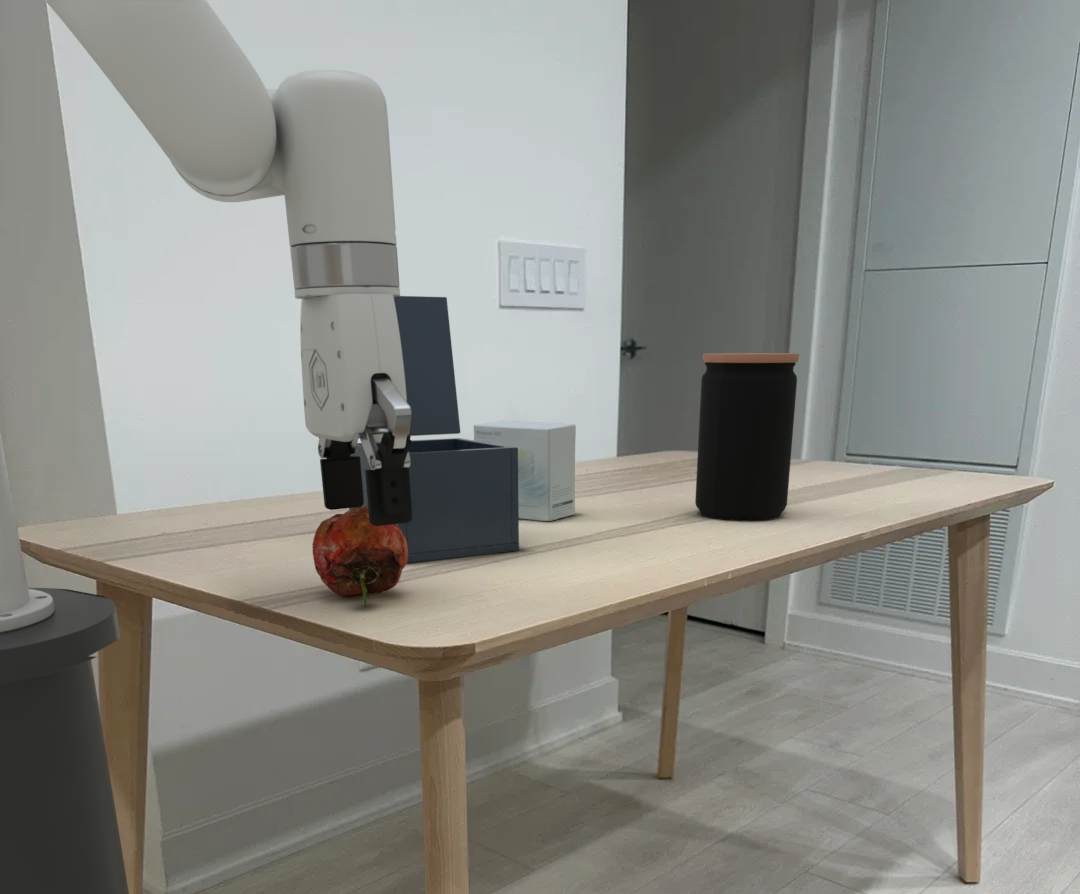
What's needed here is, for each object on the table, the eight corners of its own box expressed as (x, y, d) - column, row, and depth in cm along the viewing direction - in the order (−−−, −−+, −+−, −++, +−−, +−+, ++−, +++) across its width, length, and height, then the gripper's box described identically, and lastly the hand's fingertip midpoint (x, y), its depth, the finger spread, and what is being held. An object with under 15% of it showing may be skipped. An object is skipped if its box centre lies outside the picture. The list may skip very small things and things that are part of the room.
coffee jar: (803, 514, 120) (817, 353, 114) (751, 524, 113) (763, 353, 107) (729, 505, 127) (739, 353, 121) (676, 514, 120) (683, 353, 114)
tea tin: (519, 550, 99) (518, 447, 96) (400, 563, 93) (394, 454, 90) (461, 531, 109) (459, 437, 106) (351, 542, 103) (344, 443, 100)
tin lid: (446, 296, 103) (443, 298, 103) (327, 294, 97) (325, 295, 98) (460, 433, 105) (457, 433, 106) (345, 438, 99) (342, 439, 100)
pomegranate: (418, 628, 80) (413, 534, 85) (401, 568, 74) (397, 471, 79) (325, 639, 80) (326, 545, 85) (300, 580, 74) (303, 482, 79)
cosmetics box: (473, 514, 120) (471, 423, 117) (503, 508, 126) (502, 419, 122) (548, 522, 115) (548, 426, 112) (576, 514, 120) (577, 423, 117)
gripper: (260, 283, 78) (285, 507, 84) (338, 266, 64) (362, 537, 70) (352, 283, 82) (370, 498, 88) (445, 267, 68) (459, 525, 74)
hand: (366, 515), depth 79 cm, fingers open, 9 cm apart
